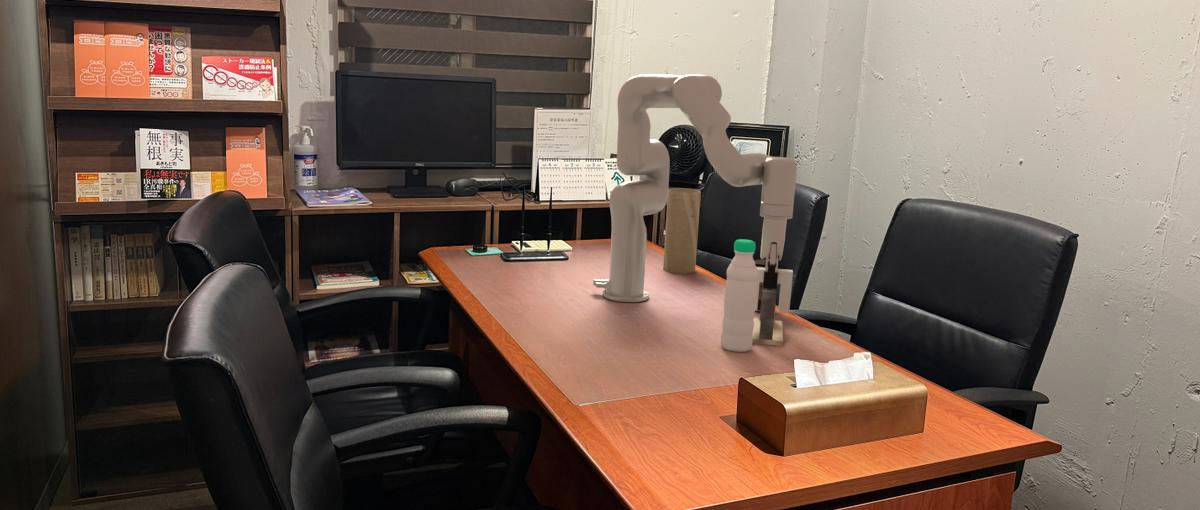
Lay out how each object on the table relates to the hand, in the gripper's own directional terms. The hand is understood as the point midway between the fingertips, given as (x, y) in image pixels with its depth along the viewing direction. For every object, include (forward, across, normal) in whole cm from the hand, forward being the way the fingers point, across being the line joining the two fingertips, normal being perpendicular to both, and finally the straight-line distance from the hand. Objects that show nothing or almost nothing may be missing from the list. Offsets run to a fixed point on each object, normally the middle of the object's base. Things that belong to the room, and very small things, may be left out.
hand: (769, 285), depth 209 cm
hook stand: (+12, 0, 0) cm, 12 cm away
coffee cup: (+12, -22, -2) cm, 25 cm away
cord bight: (+6, 0, 0) cm, 6 cm away
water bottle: (+12, +13, -7) cm, 19 cm away
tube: (+12, -60, -26) cm, 67 cm away
